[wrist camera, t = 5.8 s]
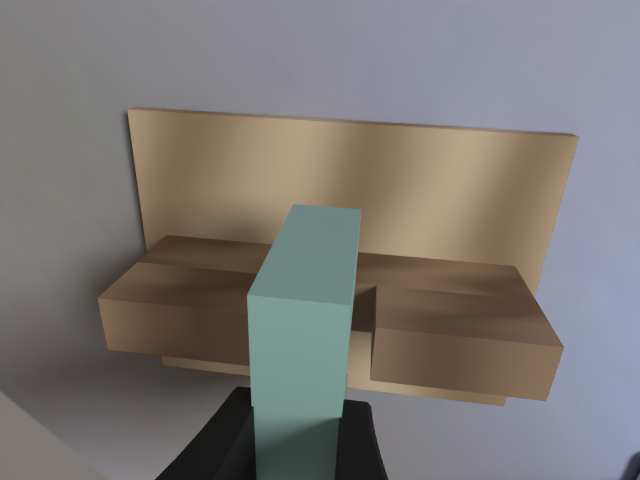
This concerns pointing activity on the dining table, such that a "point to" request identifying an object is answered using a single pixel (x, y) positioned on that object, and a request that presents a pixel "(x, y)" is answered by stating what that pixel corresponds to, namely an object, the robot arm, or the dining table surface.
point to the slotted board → (373, 249)
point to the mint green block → (302, 342)
